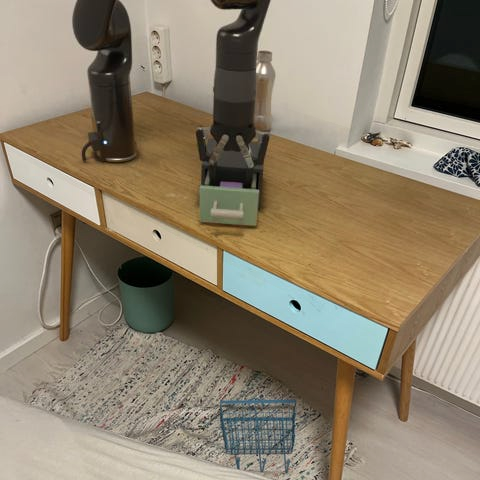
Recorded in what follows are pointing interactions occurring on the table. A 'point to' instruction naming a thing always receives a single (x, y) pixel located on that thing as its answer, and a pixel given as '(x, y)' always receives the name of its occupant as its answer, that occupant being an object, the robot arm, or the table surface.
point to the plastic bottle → (264, 91)
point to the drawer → (229, 200)
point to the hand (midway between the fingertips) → (230, 182)
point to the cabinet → (234, 163)
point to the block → (231, 184)
